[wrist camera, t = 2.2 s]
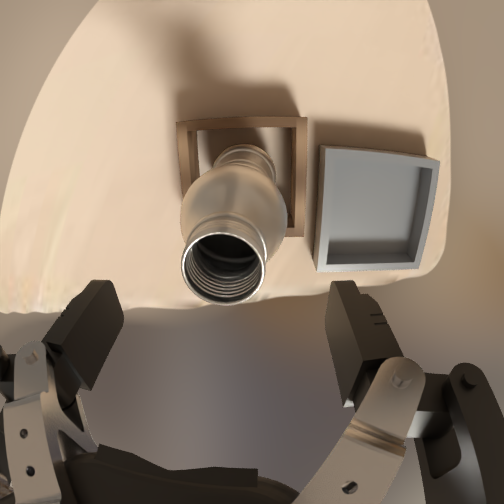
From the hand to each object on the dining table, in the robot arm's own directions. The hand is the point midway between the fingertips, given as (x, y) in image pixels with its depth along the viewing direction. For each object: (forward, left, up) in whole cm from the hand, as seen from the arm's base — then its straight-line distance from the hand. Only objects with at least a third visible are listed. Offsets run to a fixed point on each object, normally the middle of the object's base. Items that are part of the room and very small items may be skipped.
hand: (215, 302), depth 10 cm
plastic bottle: (0, 0, -22) cm, 22 cm away
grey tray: (+4, +15, -22) cm, 27 cm away
